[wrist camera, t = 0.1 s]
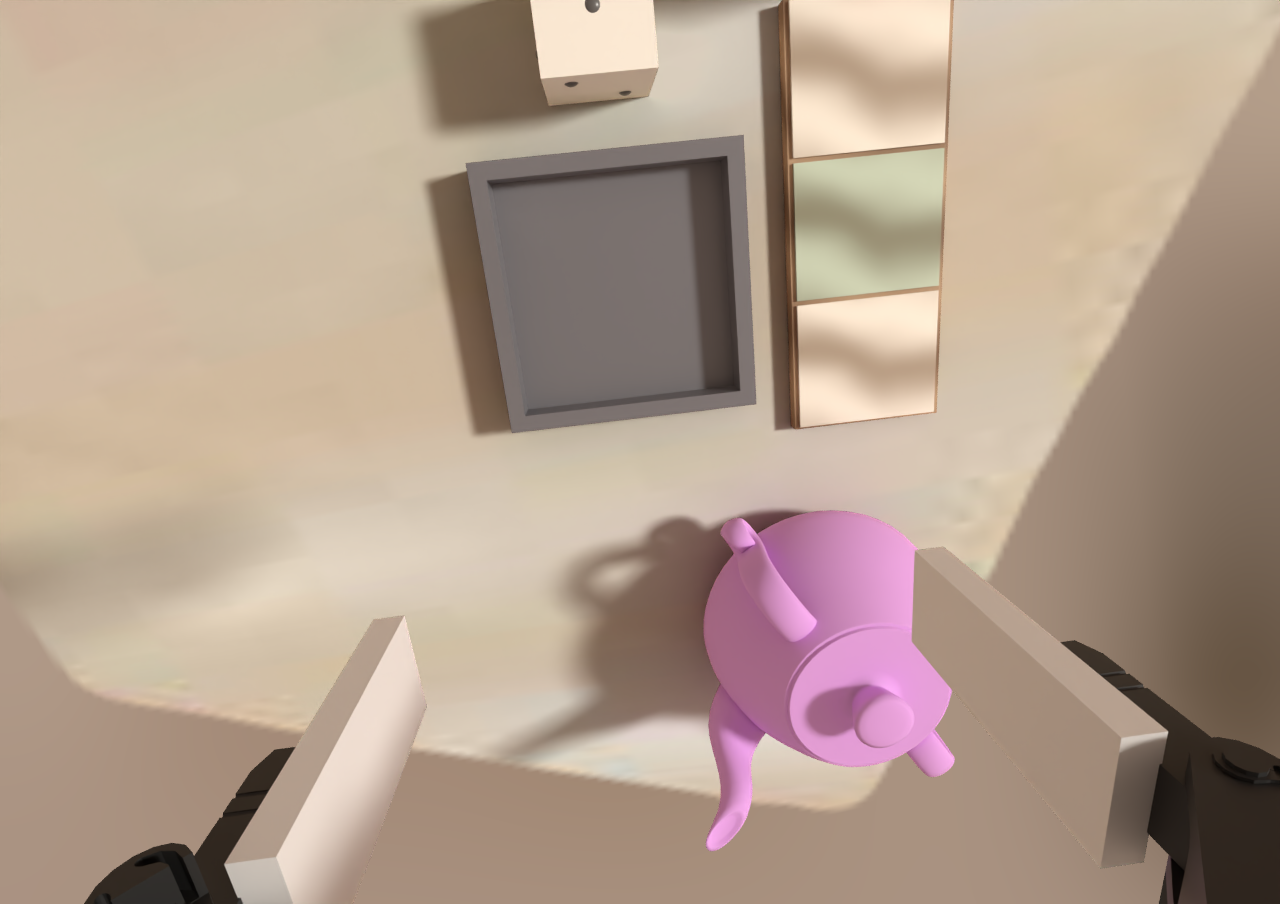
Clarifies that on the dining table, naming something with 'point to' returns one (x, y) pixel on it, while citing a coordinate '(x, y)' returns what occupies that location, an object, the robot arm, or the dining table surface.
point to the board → (864, 203)
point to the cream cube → (595, 49)
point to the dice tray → (618, 281)
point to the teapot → (817, 653)
